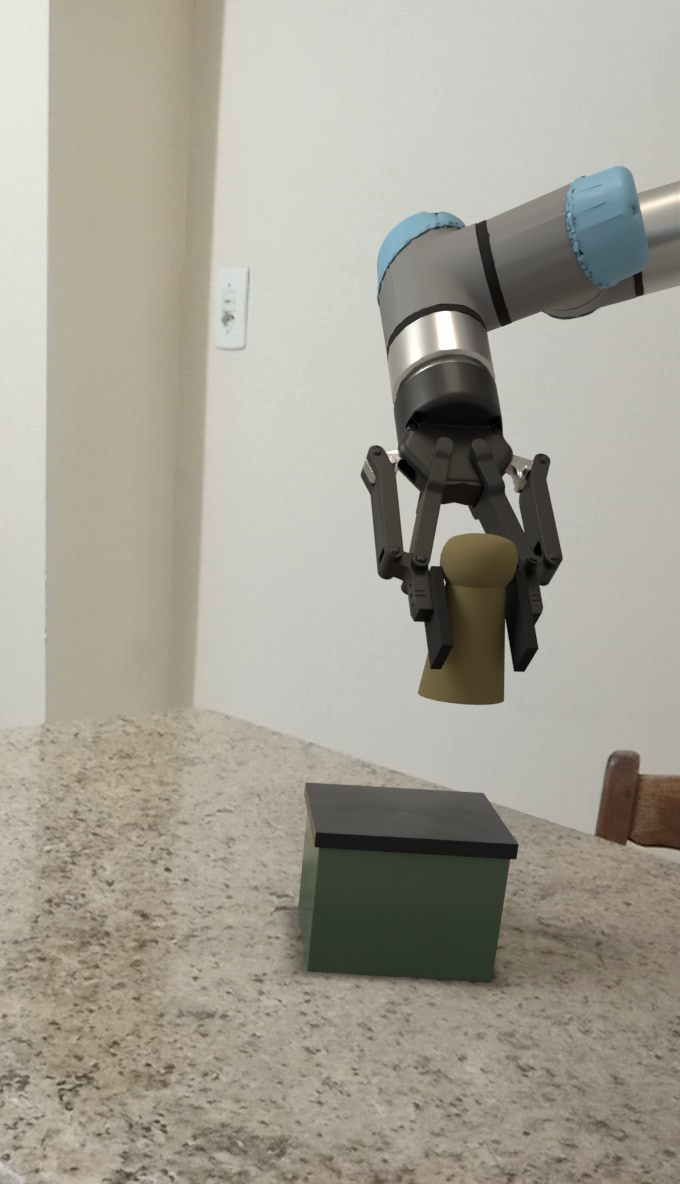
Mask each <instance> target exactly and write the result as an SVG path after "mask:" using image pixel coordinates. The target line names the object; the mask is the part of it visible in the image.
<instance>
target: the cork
mask: <svg viewBox="0 0 680 1184" xmlns="http://www.w3.org/2000/svg"><path fill="white" fill-rule="evenodd" d="M517 563H518V553H517V549H516V547H515V544H514V543H513V542H512V541H511V540H509V539H506V538H503V537H501V536H497V535H493V534H485V532H484V533H482V532H469V533H468V532H467V533H462V534H457V535H453V536H451V537H449V539H447V541H446V542H445V544H444V545H443V547H442V549H441V552H440V557H439V566H442V570H443V577H444V584H445V591H446V598H447V606H448V613H449V620H450V627H451V634H452V641H453V647H452V649H451V651H450V653H449V655H448V657H447V659H446V661H445V663H444V665H443V667H442V669H430V662H429V655H428V653H427V654H426V659H425V662H424V667H423V670H422V674H421V678H420V681H419V686H418V690H417V694H418V695H419V696H420V697H422V698H425V699H426V700H427V699H428V700H430V701H431V700H432V701H434V702H435V701H436V702H442V703H448V704H454V705H455V704H457V705H469V706H470V705H471V706H490V705H496V704H497V705H498V704H502V703H504V702H505V669H506V667H505V666H506V665H505V664H506V660H505V659H506V620H505V598H506V586H507V584H508V583H509V582H510V581H511V580H512V579H513V576H514V574H515V571H516V569H517Z"/></svg>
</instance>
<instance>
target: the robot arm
mask: <svg viewBox="0 0 680 1184" xmlns="http://www.w3.org/2000/svg"><path fill="white" fill-rule="evenodd" d="M376 274H377V276H376V277H377V288H376V290H377V294H376V301H377V305H378V308H379V313H380V321H381V326H382V333H383V340H384V345H385V351H386V360H387V361H386V362H387V369H388V370H387V371H388V377H389V383H390V392H391V398H392V399H391V400H392V404H393V417H394V425H395V432H396V439H397V448H394V449H390V450H385V448H384V447H382V446H381V445H378V444H373V445H371V446H370V447H369V448H368V451H367V453H366V456H365V459H364V462H363V465H362V468H361V471H360V478H361V480H362V482H363V484H364V486H365V488H366V489H367V491H368V493H369V496H370V505H371V506H370V507H371V516H372V526H373V527H372V528H373V537H374V549H375V558H376V559H375V560H376V569H377V571H376V572H377V575H378V576H379V578H381V579H382V580H387V581H388V580H389V581H390V580H392V579H393V578H394V579H397V580H400V581H402V583H401V585H400V590H401V592H402V593H403V594H405V595H407V599H408V608H409V615H410V618H411V619H412V621H413V622H414V623H423V624H424V632H425V638H426V639H425V640H426V646H427V654H428V655H429V662H430V669H442V667H443V665H444V663H445V661H446V659H447V657H448V655H449V653H450V651H451V649H452V647H453V641H452V634H451V627H450V620H449V613H448V606H447V598H446V591H445V580H444V577H443V570H442V566H440V565H430V563H431V559H432V553H433V548H434V543H435V537H436V532H437V526H438V521H439V517H440V516H439V515H440V511H441V505H449V504H458V505H461V506H467V508H468V510H469V512H470V514H471V517H472V518H473V519H474V520H475V521H477V520H478V521H479V523H480V525H481V528H482V529H483V531H484V534H493V535H497V536H501V537H503V538H506V539H509V540H511V541H512V542H513V543H514V544H515V547H516V549H517V553H518V563H517V569H516V571H515V574H514V576H513V579H512V580H511V581H510V582H509V583H508V584H507V586H506V598H505V627H506V631H507V632H506V633H507V638H508V644H509V650H510V651H509V652H510V657H511V663H512V669H513V672H514V673H525V672H526V670H527V669H528V667H529V665H530V664H531V662H532V661H533V659H534V657H535V656H536V654H537V652H538V650H539V643H538V642H539V641H538V636H537V632H536V624H537V622H538V620H539V619H540V617H541V615H542V613H543V611H544V604H543V598H542V592H541V587H546V586H549V584H550V583H551V581H552V579H553V578H554V576H555V574H556V573H557V571H558V569H559V567H560V565H561V563H562V562H563V560H564V558H563V557H564V555H563V551H562V546H561V543H560V542H561V541H560V537H559V533H558V527H557V523H556V517H555V515H554V513H555V512H554V508H553V504H552V500H551V494H550V490H549V485H548V481H547V479H548V475H549V470H550V466H551V458H550V457H549V456H548V455H547V454H545V453H542V452H541V453H537V454H535V455H534V456H533V459H530V458H525V457H522V456H518V455H516V454H514V451H513V448H512V446H511V445H510V444H509V443H508V441H507V440H506V438H505V437H504V425H503V415H502V409H501V403H500V398H499V392H498V387H497V383H496V374H495V368H494V363H493V358H492V353H491V347H490V341H489V340H490V339H489V335H488V332H491V331H494V330H497V329H499V328H501V327H502V328H503V327H506V326H507V325H508V326H509V325H511V324H513V323H514V322H518V321H520V320H523V319H525V318H528V317H531V316H534V315H536V314H539V313H543V314H546V315H547V316H549V317H551V318H553V319H557V320H563V321H566V320H567V321H569V320H574V319H579V318H584V317H587V316H589V315H592V314H593V313H595V312H596V311H597V310H599V309H601V308H605V307H608V306H611V305H616V304H620V303H623V302H626V301H630V300H633V299H636V298H638V297H642V296H646V295H649V294H653V293H657V292H661V291H665V290H668V289H672V288H676V287H680V180H677V181H674V182H670V183H666V184H664V185H661V186H657V187H654V188H650V189H647V190H644V191H640V192H638V191H637V187H636V182H635V179H634V176H633V173H632V171H631V170H630V169H629V168H628V167H626V166H624V165H616V166H612V167H610V168H606V169H604V170H601V171H598V172H595V173H593V174H590V175H588V176H587V175H581V176H579V177H577V178H576V177H575V179H574V180H573V181H572V182H570V183H567V184H565V185H563V186H561V187H558V188H557V189H554V190H552V191H549V192H548V193H545V194H543V195H540V196H538V197H536V198H534V199H531V200H529V201H526V202H524V203H521V204H520V205H518V206H515V207H513V208H511V209H509V210H506V211H504V212H501V213H498V214H497V215H494V216H493V217H490V218H488V219H484V220H481V221H479V222H474V223H472V224H470V225H466V224H465V223H464V221H463V220H462V219H461V218H459V217H458V216H456V215H454V214H452V213H450V212H448V211H440V210H439V211H438V212H427V211H419V212H417V213H414V214H411V215H409V216H408V217H405V218H404V219H402V220H401V221H399V222H398V223H397V224H396V225H395V226H394V227H393V228H392V229H391V230H390V231H389V232H388V233H387V234H386V236H385V238H384V239H383V241H382V243H381V245H380V248H379V250H378V254H377V258H376ZM398 472H400V473H401V474H402V476H403V477H405V478H406V480H408V481H409V483H411V484H412V486H414V487H415V488H416V490H418V491H419V494H418V498H417V500H418V501H417V504H416V509H415V520H414V525H413V530H412V535H411V540H410V546H409V550H408V552H407V551H404V550H405V549H404V542H403V532H402V531H403V530H402V521H401V512H400V511H401V510H400V499H399V493H398V492H399V491H398V483H397V482H398V481H397V474H398ZM506 474H507V475H509V476H510V477H511V478H512V483H513V486H514V487H513V491H514V493H516V494H519V495H518V506H519V512H520V517H521V521H522V525H521V523H520V521H519V519H518V517H517V514H516V513H515V511H514V508H513V507H512V504H511V503H510V501H509V499H508V497H507V493H506V483H505V481H504V478H503V477H504V476H505V475H506ZM429 565H430V567H429Z"/></svg>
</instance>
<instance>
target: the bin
mask: <svg viewBox="0 0 680 1184" xmlns="http://www.w3.org/2000/svg"><path fill="white" fill-rule="evenodd" d="M303 798H304V801H305V805H306V806H305V807H306V821H305V832H304V842H303V852H302V863H301V873H300V884H299V895H298V896H299V897H298V907H297V912H298V917H299V918H298V919H299V924H300V925H299V926H300V932H301V938H302V939H301V940H302V946H303V952H304V953H303V954H304V960H305V967H306V971H307V972H321V973H335V974H336V973H337V974H351V975H366V976H367V975H368V976H383V977H398V978H399V977H400V978H415V979H430V980H431V979H432V980H444V981H445V980H446V981H460V982H461V981H462V982H475V983H476V982H477V983H492V982H493V976H494V970H495V964H496V956H497V950H498V945H499V943H498V942H499V937H500V930H501V923H502V915H503V910H504V903H505V898H506V890H507V885H508V879H509V871H510V865H511V860H517V858H518V853H519V847H520V846H519V844H520V843H518V842H517V840H516V838H515V836H513V834H512V832H511V831H510V830H509V828H508V827H507V825H506V823H504V821H503V819H502V818H501V816H500V815H499V813H498V812H497V811H496V809H495V807H494V806H493V804H492V803H491V801H490V800H489V798H488V797H487V795H486V794H485V793H484V792H475V791H459V790H442V789H441V790H440V789H424V788H409V787H408V788H406V787H389V786H372V785H357V784H340V783H323V782H321V783H320V782H305V783H304V792H303Z"/></svg>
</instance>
